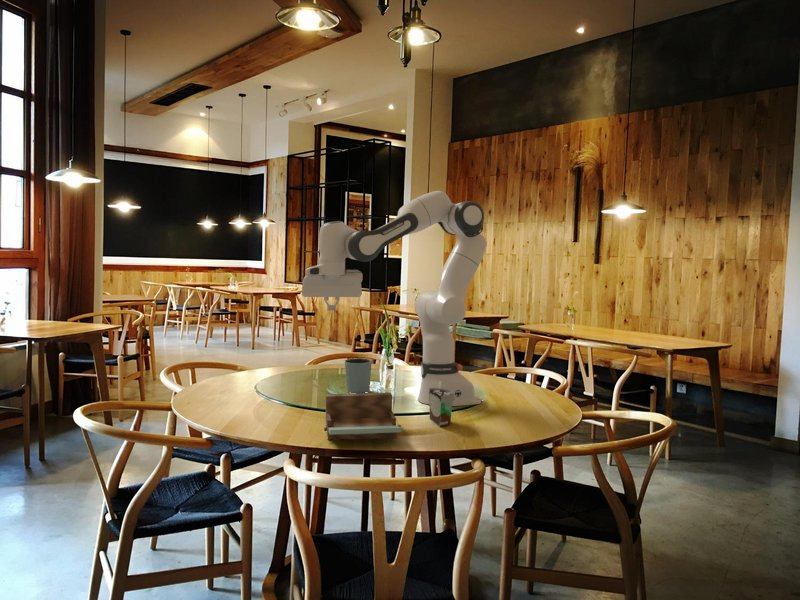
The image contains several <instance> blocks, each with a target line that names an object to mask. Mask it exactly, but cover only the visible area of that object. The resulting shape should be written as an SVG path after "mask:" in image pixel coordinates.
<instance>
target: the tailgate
mask: <svg viewBox="0 0 800 600" xmlns="http://www.w3.org/2000/svg"><path fill="white" fill-rule="evenodd" d="M392 432H397V433H403V432H402V426H401V427H399V426H398V425H396V426H366V427H334V428H329V434H330V435H333V434H354V435H365V434H377V433H392Z"/></svg>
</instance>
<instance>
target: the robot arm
mask: <svg viewBox="0 0 800 600" xmlns="http://www.w3.org/2000/svg"><path fill="white" fill-rule="evenodd" d="M484 221H485V212H484V210H483V207H482V206H481V205H480V203H477V202H474V201H471V200H467V201H462V202H461V201H460V202H459V203H454V202H452V201H451V199H450V197H449V196H448V195H447V193H446V192H444V191H442V190H435V191H434V190H433V191H430V192H427V193H424V194H422V195H420V196H417V197H415V198H413V199H412V200H410V201H408V202H406V203H405V204H404V205H402V206H401V207H400V208H399V209H398V211H397V216H396V217H395V218H394V219H393V220H391V221H389V222H388V223H385V224H384V225H382V226H380V227H378V228H376V229H373V230H361V231H359V230H357V229H354V228H352V227H350V226H348V225H347V224H345V223H344V222H343V221H341V220H336V221H329V222H325V223H323V224H322V225H321V226H320V229H319V234H318V235H319V236H318V249H319V258H318V264H317V265H312V266H310V267H307V268H305V274H306V275H305V276H304V277H303V281H302V286H301V296H302V297H304V298H323V301H324V302H325V304H326V306H327V312H328V311H329V312H330V311H337V306H338V304H339V302H340V299H341V298H360V297H361V296H362V295H363V290H362V282H363V278H364V277H363V273H362V271H360V270H359V269H346V258H348V259H351V260H355V261H358V262H362V263H367V262H370V261H373V260H374V259H376V258H377V257H378V255H379V254H380V253H381V252H382V250H383V249H384V248H385V247H387V246H388V245H390V244H392V243H394V242H395V241H398V240H399V239H400V238H402V237H404V236H407V235H411V234H415V233H418V232H421V231H423V230H426V229H428V228H429V227H431V226H433V225H436V224H438V225H439V226H440V228H441V229H442V230H443V231H444V232H445V233H446V234H448V235H452V236H456V237H455V238H456V239H455V244H454V246H453V248H452V250H451V252H450V254H449V256H448V257H447V259H446V261H445V263H444V265H443V267H442V269H441V270H440V277H441V278H440V279H441V280H440V284H439V288H438V289H437V291H435V290H428V291H425V292H422V293H420V294H419V295H417V297H416V299H415V300H414V304H413V305H414V311H415V313H416V314H417V316H418V321H419V325H420V330H421V335H422V336H421V337H422V361H421V365H420V376H421V384H420V389H419V395H418V396H417V401H418V402H419V403H421V404H424V405H425V404H426V405H430V403H429V388H442V389H448V390H451V391H452V392H453V394H454V397H455V400H454V401H453V402H452V407H460V406H461V407H462V406H470V405H471V406H472V405H473V406H474V405H480V404H482V399H481V397H480V396H479V395H477V394H475V393H476V392H475V387H474V384H473V383H472V382H471V380H469V379H468V378H467V377H465V376H464V375H463V374H461V373H460V372H459V371H462V370H463V368H464V366H463V365H462V364H461V363H458V362H456V361H455V339H454V336H453V335H452V334H451V333H452V332H451V330H450V326H451V325H455V324H456V325H457V324H459V323H460V322H462V321H463V320H464V318H465V315H466V314H467V313H466V312H467V307H466V306H467V305H466V303H465V302H466V297H467V294H468V293H467V292H468V289H469V286H470V283H471V282H472V279H473V278H474V277H475V274H476V272H477V270H478V268H479V267H480V265H481V263H482V260H483V257H484V254H485V252H486V248H487V246H488V245H487V239H486V238H485V236H483V234H482V232H483V229H484ZM329 298H334V299H335V302H334V304H329V302H328V301H329Z"/></svg>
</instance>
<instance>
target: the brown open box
mask: <svg viewBox="0 0 800 600" xmlns="http://www.w3.org/2000/svg"><path fill="white" fill-rule="evenodd" d="M366 426H399V427H401V428H402V425H401V424H397V418H396V416H395V414H394V412H393V394H392V392H369V393H356V394H350V393H328V394H327V393H326V394H325V427H323V428H324V429H323V431H324V432H326V431H327V432H326V438H327V437H328V438H327V440H328V439H344V440H364V439H365V440H369V439H396V438H398V432H392V433H377V434H365V435H354V434H333V435H330V434H329V428H334V427H366Z"/></svg>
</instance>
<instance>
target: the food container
mask: <svg viewBox="0 0 800 600" xmlns="http://www.w3.org/2000/svg"><path fill="white" fill-rule="evenodd" d="M454 400H455V397H454V394H453V392H452V391H451V390H448V389H442V388H429V403H430V404H429V420H430V421H431V422H432V423H433V424H435V425H436V426H437V427H439V428H445V427H449V426H451V422H452V419H451V418H452V409H453V406H452V402H453V401H454Z"/></svg>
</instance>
